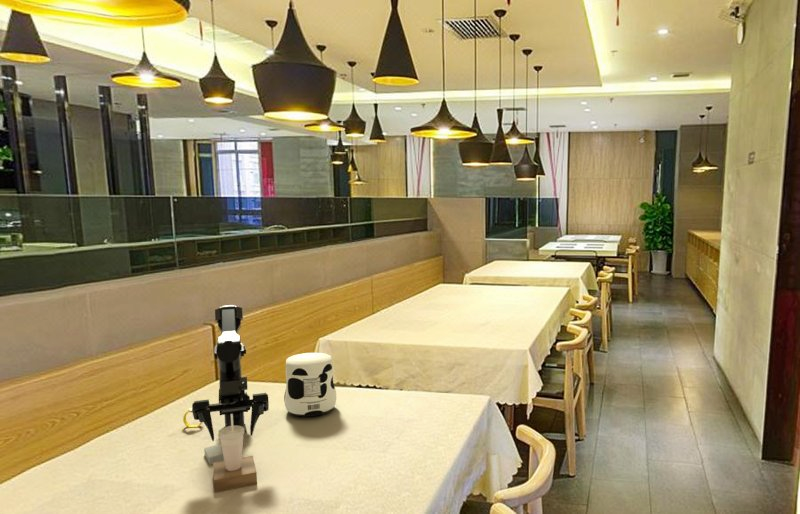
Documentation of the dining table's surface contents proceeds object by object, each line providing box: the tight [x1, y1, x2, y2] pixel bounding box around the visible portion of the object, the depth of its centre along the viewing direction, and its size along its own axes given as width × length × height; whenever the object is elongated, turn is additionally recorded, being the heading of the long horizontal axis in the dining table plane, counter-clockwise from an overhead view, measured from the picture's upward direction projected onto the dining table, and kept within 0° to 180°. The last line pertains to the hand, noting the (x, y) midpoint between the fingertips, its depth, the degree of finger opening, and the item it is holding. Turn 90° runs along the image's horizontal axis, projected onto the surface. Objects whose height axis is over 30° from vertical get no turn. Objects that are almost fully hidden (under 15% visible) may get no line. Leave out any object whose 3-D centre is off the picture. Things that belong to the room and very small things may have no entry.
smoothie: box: [217, 414, 246, 471], centre depth 138 cm, size 6×6×14 cm
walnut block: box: [212, 455, 258, 493], centre depth 138 cm, size 10×10×3 cm
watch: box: [182, 407, 204, 428], centre depth 173 cm, size 6×3×6 cm, turn 91°
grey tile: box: [203, 443, 224, 465], centre depth 151 cm, size 7×7×2 cm
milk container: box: [283, 352, 337, 417], centre depth 183 cm, size 17×17×18 cm
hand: (232, 437), depth 137 cm, fingers open, 9 cm apart
